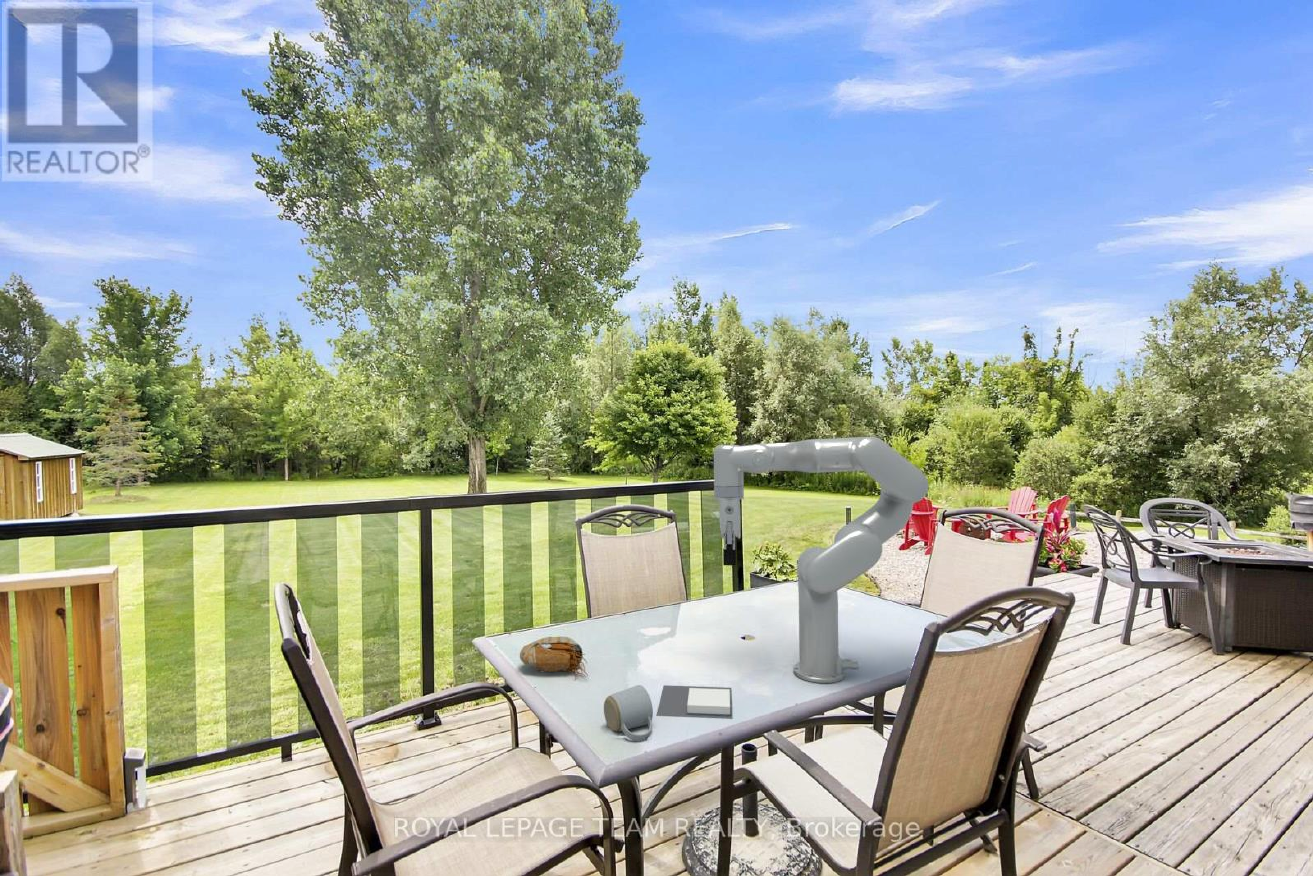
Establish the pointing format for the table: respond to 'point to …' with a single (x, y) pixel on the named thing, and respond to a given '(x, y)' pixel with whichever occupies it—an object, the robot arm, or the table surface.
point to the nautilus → (553, 655)
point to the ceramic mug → (629, 711)
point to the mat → (683, 702)
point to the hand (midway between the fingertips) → (729, 564)
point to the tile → (708, 701)
